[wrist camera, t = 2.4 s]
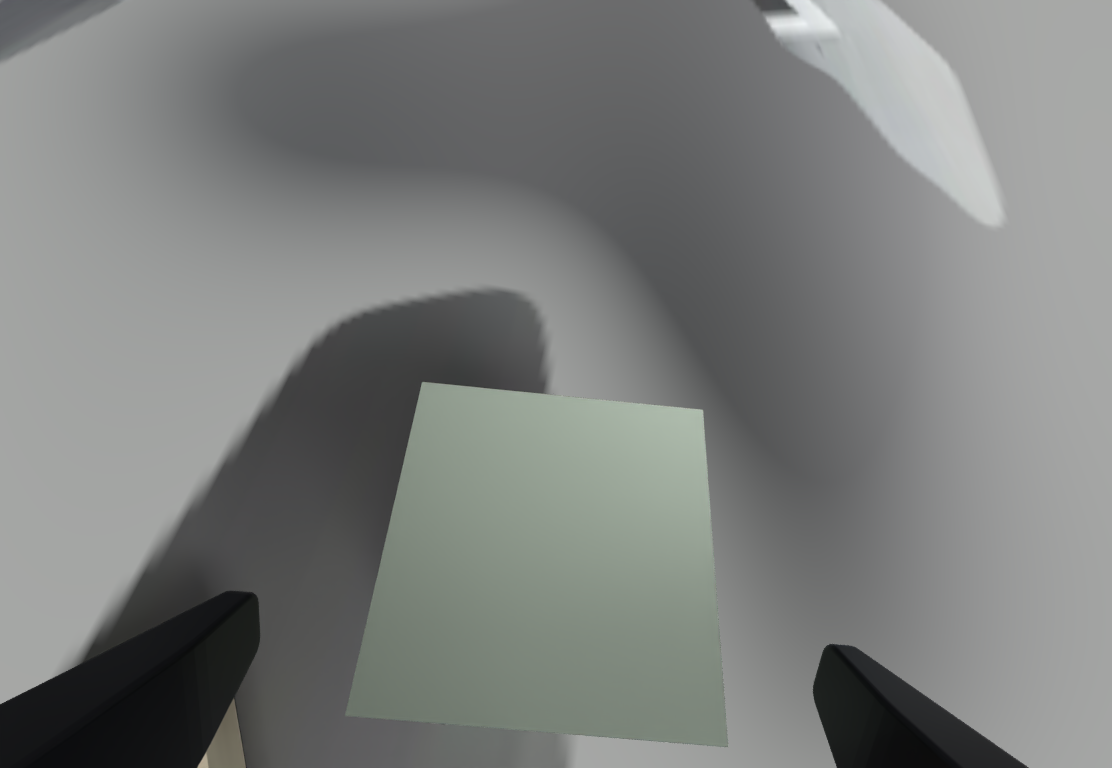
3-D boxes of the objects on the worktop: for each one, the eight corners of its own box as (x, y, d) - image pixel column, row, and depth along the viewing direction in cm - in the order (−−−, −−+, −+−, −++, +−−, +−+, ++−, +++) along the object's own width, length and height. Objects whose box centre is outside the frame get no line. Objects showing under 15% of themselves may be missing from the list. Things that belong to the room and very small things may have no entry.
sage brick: (607, 716, 16) (728, 747, 7) (437, 702, 15) (344, 716, 7) (610, 544, 18) (702, 409, 10) (464, 530, 18) (422, 381, 9)
